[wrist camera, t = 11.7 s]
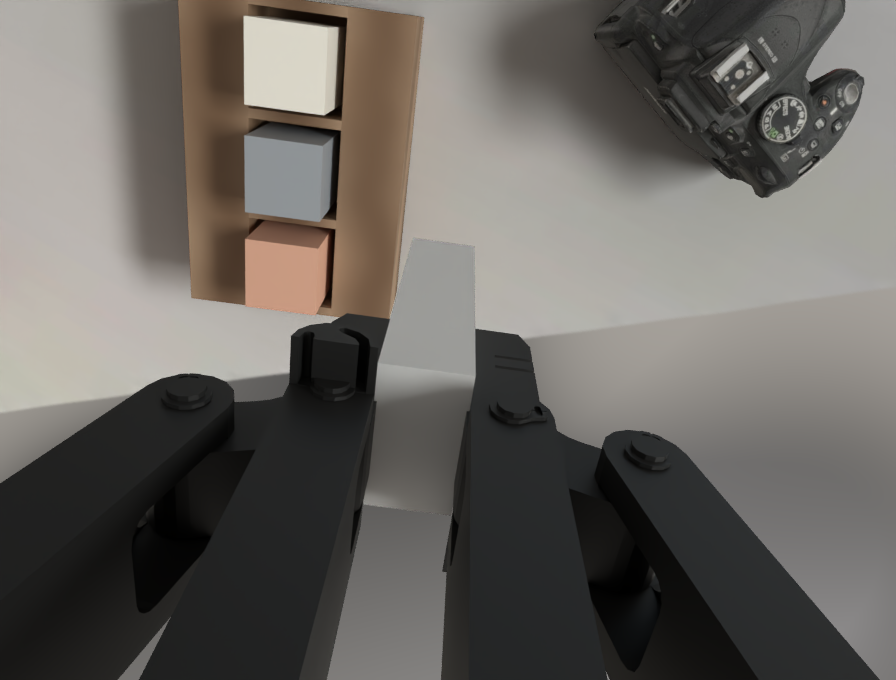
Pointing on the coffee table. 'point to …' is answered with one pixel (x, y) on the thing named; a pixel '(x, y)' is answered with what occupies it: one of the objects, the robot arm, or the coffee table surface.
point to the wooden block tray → (358, 119)
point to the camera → (738, 80)
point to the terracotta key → (288, 266)
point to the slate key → (291, 171)
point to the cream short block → (293, 64)
